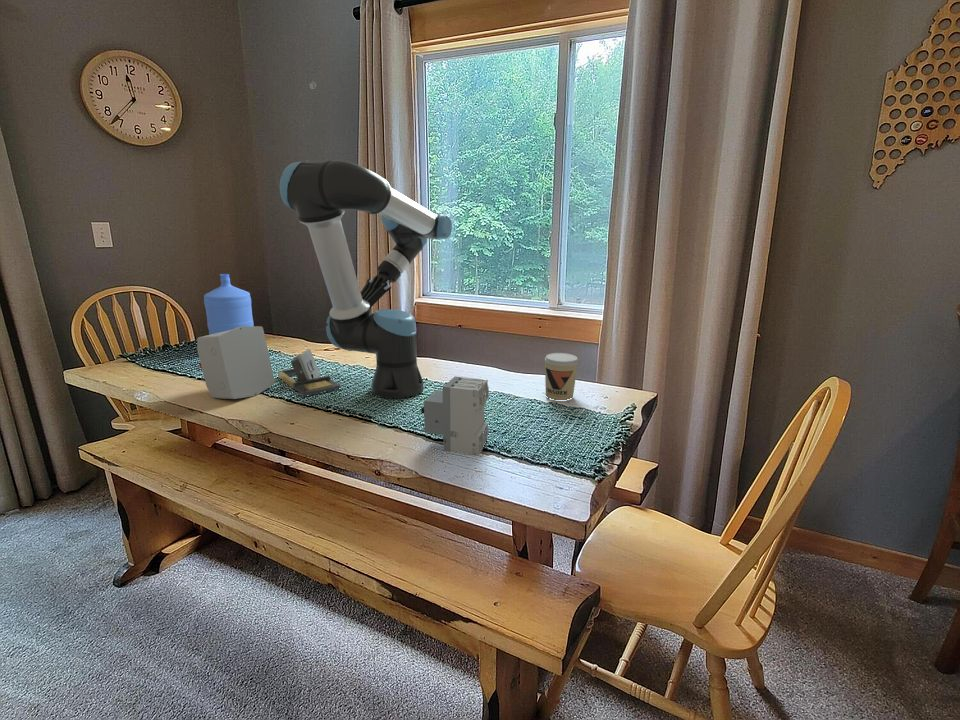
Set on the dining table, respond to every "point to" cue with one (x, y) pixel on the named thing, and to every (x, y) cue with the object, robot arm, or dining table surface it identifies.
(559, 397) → the coffee cup
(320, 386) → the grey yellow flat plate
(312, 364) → the electrical switch
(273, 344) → the dining table surface
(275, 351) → the dining table surface
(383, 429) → the dining table surface
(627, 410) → the dining table surface
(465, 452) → the circuit breaker
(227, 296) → the water jug
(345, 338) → the robot arm
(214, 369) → the electrical switch box
